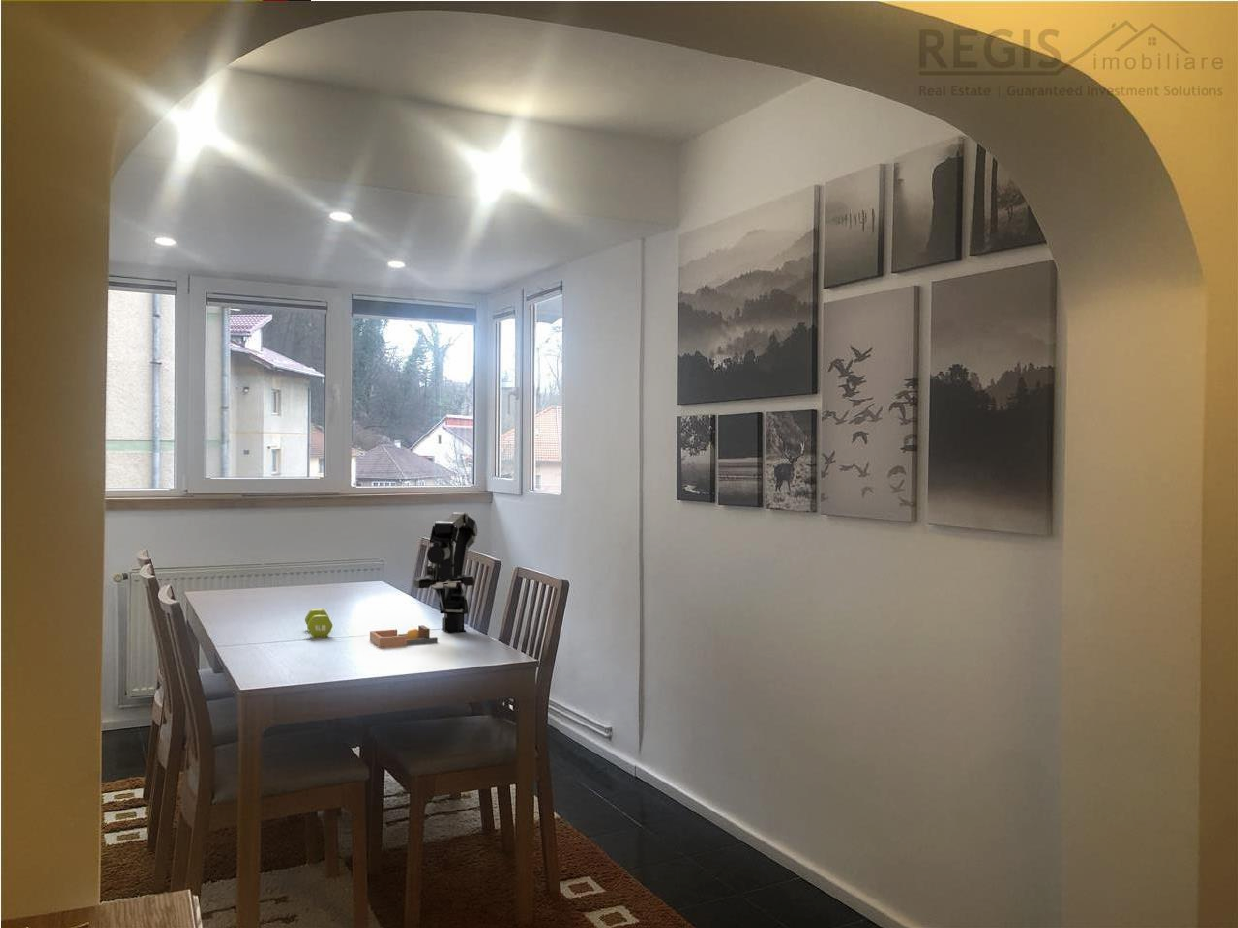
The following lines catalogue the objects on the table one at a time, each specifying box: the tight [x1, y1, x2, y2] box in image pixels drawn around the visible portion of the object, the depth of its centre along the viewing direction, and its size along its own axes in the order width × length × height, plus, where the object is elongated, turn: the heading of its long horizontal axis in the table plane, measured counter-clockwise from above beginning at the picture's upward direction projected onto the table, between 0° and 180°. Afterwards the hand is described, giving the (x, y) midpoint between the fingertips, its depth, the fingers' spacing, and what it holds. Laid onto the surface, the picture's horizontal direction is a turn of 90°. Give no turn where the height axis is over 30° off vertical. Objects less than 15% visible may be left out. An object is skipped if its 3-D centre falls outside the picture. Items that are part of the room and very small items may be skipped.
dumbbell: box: [304, 608, 333, 639], centre depth 311 cm, size 16×8×7 cm, turn 21°
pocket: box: [369, 629, 408, 649], centre depth 298 cm, size 8×12×3 cm
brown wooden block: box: [417, 625, 431, 639], centre depth 303 cm, size 2×7×4 cm, turn 29°
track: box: [397, 633, 439, 646], centre depth 302 cm, size 10×10×2 cm
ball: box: [406, 628, 420, 640], centre depth 302 cm, size 4×4×4 cm
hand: (443, 607), depth 306 cm, fingers closed
